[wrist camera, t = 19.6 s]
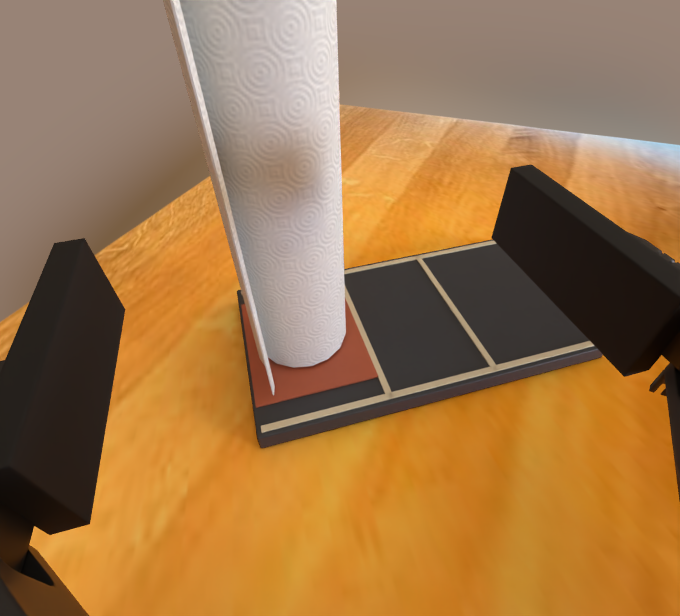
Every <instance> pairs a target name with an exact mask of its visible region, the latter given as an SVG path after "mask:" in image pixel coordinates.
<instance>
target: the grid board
mask: <svg viewBox="0 0 680 616" xmlns="http://www.w3.org/2000/svg"><path fill="white" fill-rule="evenodd" d="M344 283H345V318H346V334H345V337H344V339H343V342H342V344H341V347H340V348H339V349H338V350H337V351H336V352H335V353H334V354H333V355H332V356H331V357H330V358H329V359H327V360H325V361H322V362H320V363H318V364H315V365H313V366H307V367H295V368H293V367H289V366H285V365H280V364H277V363H275V362H274V361H272V360H271V359H270V358H268V361H269V365H270V369H271V373H272V377H273V381H274V385H275V390H274V395H273V394H272V390H271V386H270V382H269V379H268V375H267V371H266V367H265V366H264V364H263V363H262V361H261V359H260V357H259V354H258V350H257V346H256V343H255V339H254V335H253V332H252V328H251V324H250V320H249V317H248V313H247V309H246V306H245V302H244V298H243V295H242V291H241V290H238V291H237V295H238V303H239V310H240V317H241V324H242V332H243V339H244V346H245V353H246V361H247V368H248V375H249V382H250V390H251V397H252V404H253V411H254V419H255V426H256V433H257V439H258V442H259V445H260V447H261V448H265V447H269V446H272V445H276V444H280V443H283V442H287V441H291V440H295V439H298V438H302V437H306V436H310V435H313V434H317V433H321V432H324V431H328V430H332V429H336V428H339V427H343V426H347V425H351V424H354V423H358V422H362V421H365V420H369V419H373V418H377V417H380V416H384V415H388V414H392V413H395V412H399V411H403V410H407V409H410V408H414V407H418V406H421V405H425V404H429V403H433V402H436V401H440V400H444V399H448V398H451V397H455V396H459V395H462V394H466V393H470V392H474V391H477V390H481V389H485V388H489V387H492V386H496V385H500V384H503V383H507V382H511V381H515V380H518V379H522V378H526V377H530V376H533V375H537V374H541V373H544V372H548V371H552V370H556V369H559V368H563V367H567V366H571V365H574V364H578V363H582V362H585V361H589V360H593V359H597V358H600V357H601V356H602V355H603V354H602V353H601V352H600V351H599V350H598V349H597V348H596V347H595V346H594V345H593V344H592V342H591V341H590V340H589V339H588V338H587V337H586V336H585V335H584V334H583V333H582V332H581V331H580V330H579V329H578V328H577V327H576V326H575V325H574V324H573V323H572V322H571V321H570V319H569V318H568V317H567V316H566V315H565V314H564V313H563V312H562V311H561V310H560V309H559V308H558V307H557V306H556V305H555V304H554V303H553V302H552V301H551V300H550V299H549V298H548V296H547V295H546V294H545V293H544V292H543V291H542V290H541V289H540V288H539V287H538V286H537V285H536V284H535V283H534V282H533V281H532V280H531V279H530V278H529V277H528V276H527V275H526V273H525V272H524V271H523V270H522V269H521V268H520V267H519V266H518V265H517V264H516V263H515V262H514V261H513V260H512V259H511V258H510V257H509V256H508V255H507V254H506V253H505V252H504V250H503V249H502V248H501V247H500V246H499V245H498V244H497V243H496V242H495V241H494V240H488V241H483V242H478V243H473V244H468V245H463V246H458V247H453V248H448V249H443V250H438V251H433V252H428V253H423V254H418V255H413V256H408V257H403V258H398V259H393V260H388V261H383V262H378V263H373V264H368V265H363V266H358V267H353V268H348V269H344Z"/></svg>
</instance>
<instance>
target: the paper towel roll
mask: <svg viewBox="0 0 680 616" xmlns="http://www.w3.org/2000/svg"><path fill="white" fill-rule="evenodd" d="M163 2H164V6H165V10H166V13H167V17H168V21H169V24H170V28H171V31H172V36H173V39H174V43H175V47H176V50H177V54H178V58H179V61H180V65H181V69H182V72H183V76H184V80H185V84H186V87H187V91H188V95H189V98H190V102H191V106H192V109H193V113H194V117H195V120H196V124H197V128H198V132H199V135H200V139H201V143H202V147H203V150H204V154H205V158H206V161H207V165H208V169H209V172H210V176H211V180H212V184H213V187H214V191H215V195H216V198H217V202H218V206H219V209H220V213H221V217H222V221H223V224H224V228H225V232H226V235H227V239H228V243H229V246H230V250H231V254H232V258H233V261H234V265H235V269H236V272H237V276H238V280H239V283H240V287H241V291H242V295H243V298H244V302H245V306H246V309H247V313H248V317H249V320H250V324H251V328H252V332H253V335H254V339H255V343H256V346H257V350H258V354H259V357H260V359H261V361H262V363H263V364H264V366H265V367H266V371H267V375H268V379H269V382H270V386H271V390H272V394H273V395H274V390H275V385H274V381H273V377H272V373H271V369H270V365H269V361H268V358H270V359H271V360H272V361H274V362H275V363H277V364H280V365H285V366H289V367H293V368H295V367H307V366H313V365H315V364H318V363H320V362H322V361H325V360H327V359H329V358H330V357H331V356H332V355H333V354H334V353H335V352H336V351H337V350H338V349H339V348H340V347H341V344H342V342H343V339H344V337H345V334H346V318H345V283H344V249H343V214H342V180H341V146H340V111H339V78H338V44H337V43H338V42H337V11H336V10H337V8H336V0H163Z"/></svg>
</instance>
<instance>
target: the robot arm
mask: <svg viewBox="0 0 680 616" xmlns="http://www.w3.org/2000/svg"><path fill="white" fill-rule="evenodd" d="M492 239H493V240H494V241H495V242H496V243H497V244H498V245H499V246H500V247H501V248H502V249H503V250H504V252H505V253H506V254H507V255H508V256H509V257H510V258H511V259H512V260H513V261H514V262H515V263H516V264H517V265H518V266H519V267H520V268H521V269H522V270H523V271H524V272H525V273H526V275H527V276H528V277H529V278H530V279H531V280H532V281H533V282H534V283H535V284H536V285H537V286H538V287H539V288H540V289H541V290H542V291H543V292H544V293H545V294H546V295H547V296H548V298H549V299H550V300H551V301H552V302H553V303H554V304H555V305H556V306H557V307H558V308H559V309H560V310H561V311H562V312H563V313H564V314H565V315H566V316H567V317H568V318H569V319H570V321H571V322H572V323H573V324H574V325H575V326H576V327H577V328H578V329H579V330H580V331H581V332H582V333H583V334H584V335H585V336H586V337H587V338H588V339H589V340H590V341H591V342H592V344H593V345H594V346H595V347H596V348H597V349H598V350H599V351H600V352H601V353H602V354H603V355H604V356H605V357H606V358H607V359H608V360H609V361H610V362H611V363H612V364H613V365H614V367H615V368H616V369H617V370H618V371H619V372H620V373H621V374H622V375H623V376H624V377H625V376H629V375H632V374H636V373H640V372H643V371H647V370H649V369H650V368H651V367H652V366H653V364H654V363H655V362H656V361H657V360H658V358H659V357H660V356H661V355H663V356H664V357H665V358H666V359H667V360H668V361H669V362H670V363H669V365H668V366H667V367H666V368H665V369H664V370H663V371H662V373H661V374H660V375H659V376H658V377H657V378H656V379H655V380H654V382H653V383H652V384H651V385H650V389H649V391H650V392H655V391H656V390H657V389H658V387H659V386H660V385H661V384H665V385H666V388H665V389H664V391H663V392H662V393H661V395H664V396H667V402H668V410H669V418H670V426H671V435H672V443H673V451H674V459H675V467H676V476H677V484H678V492H679V500H680V263H675V260H674V259H672V258H671V257H670V256H668V255H667V254H665V253H664V254H662V251H661V250H659V249H658V248H657V247H655V246H654V245H652V244H651V243H649V242H648V241H647V240H645V239H642V238H640V237H638V236H635V235H633V234H631V233H628V232H626V231H625V230H623V229H622V228H620V227H619V226H618V225H616V224H615V223H613V222H612V221H610V220H609V219H608V218H606V217H605V216H603V215H602V214H601V213H599V212H598V211H596V210H595V209H594V208H592V207H591V206H589V205H588V204H586V203H585V202H584V201H582V200H581V199H579V198H578V197H577V196H575V195H574V194H572V193H571V192H570V191H568V190H567V189H565V188H564V187H563V186H561V185H560V184H558V183H557V182H555V181H554V180H553V179H551V178H550V177H548V176H547V175H546V174H544V173H543V172H541V171H540V170H539V169H537V168H536V167H534V166H533V165H526V166H520V167H514V168H511V170H510V174H509V177H508V181H507V184H506V188H505V192H504V195H503V199H502V202H501V206H500V210H499V213H498V217H497V220H496V224H495V228H494V231H493V235H492ZM124 313H125V308H124V307H123V305H122V303H121V301H120V300H119V298H118V296H117V294H116V293H115V291H114V289H113V287H112V286H111V284H110V282H109V280H108V279H107V277H106V275H105V273H104V272H103V270H102V268H101V266H100V265H99V263H98V261H97V259H96V258H95V256H94V254H93V253H92V251H91V249H90V247H89V246H88V244H87V242H86V240H85V239H78V240H71V241H65V242H59V243H54V245H53V248H52V250H51V252H50V255H49V257H48V259H47V262H46V264H45V267H44V269H43V271H42V274H41V276H40V279H39V281H38V283H37V286H36V288H35V291H34V293H33V295H32V298H31V300H30V302H29V305H28V307H27V310H26V312H25V314H24V317H23V319H22V321H21V324H20V326H19V329H18V331H17V333H16V336H15V338H14V341H13V343H12V345H11V348H10V350H9V353H8V355H7V357H6V360H4V361H0V616H89V615H88V614H87V613H86V611H85V610H84V609H83V608H82V606H81V605H80V604H79V602H78V601H77V600H76V599H75V597H74V596H73V595H72V594H71V592H70V591H69V590H68V589H67V587H66V586H65V585H64V584H63V582H62V581H61V580H60V579H59V577H58V576H57V575H56V574H55V572H54V571H53V570H52V568H51V567H50V566H49V565H48V563H47V562H46V561H45V560H44V558H43V557H42V556H41V555H40V553H39V552H38V551H37V550H36V549H35V548H33V547H31V546H30V545H29V543H30V539H31V536H32V532H33V528H34V526H36V527H37V528H39V529H41V530H42V531H44V532H46V533H47V534H49V535H52V534H55V533H59V532H62V531H66V530H70V529H73V528H77V527H81V526H84V525H88V524H90V520H91V514H92V508H93V502H94V496H95V489H96V483H97V477H98V471H99V465H100V459H101V453H102V447H103V441H104V435H105V429H106V423H107V417H108V411H109V404H110V398H111V392H112V386H113V380H114V374H115V368H116V362H117V356H118V350H119V344H120V338H121V332H122V326H123V320H124Z"/></svg>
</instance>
